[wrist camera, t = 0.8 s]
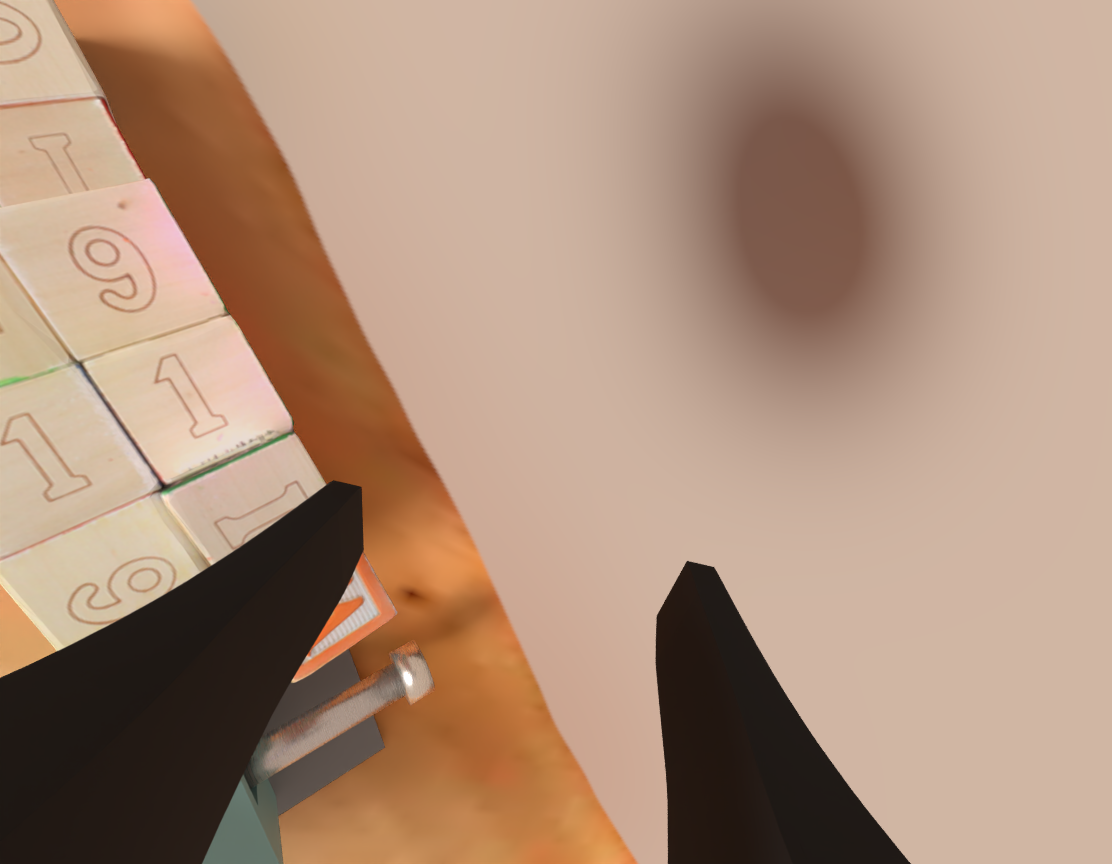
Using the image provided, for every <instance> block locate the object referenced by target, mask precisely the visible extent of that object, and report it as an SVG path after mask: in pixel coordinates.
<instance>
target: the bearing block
mask: <svg viewBox="0 0 1112 864" xmlns="http://www.w3.org/2000/svg"><path fill="white" fill-rule="evenodd" d="M358 682H360V678H359V675H358V672H357V670H356V667H355V664H354V662H353V659H352V656H351V654H350V651H349V649H347V650H346V651H344V652H343V653H341V654H340V655H338V656H337V657H335V658H334V659H332V660H331V661H329V662H328V663H326V664H325V665H324V666H322V667H321V668H319V669H318V670H316V671H315V672H313V673H312V674H310V675H309V676H307V677H305V678H303V679H301V680H299V681H297V682H295V683H290V684H289V686H288V688H287V689H286V691H285V693H284V695H283V696H282V698H281V700H280V702H279V704H278V705H277V707H276V709H275V711H274V713H273V714H272V716H271V718H270V720H269V722H268V725H267V727H266V729H265V731H264V733H263V735H265V734H266V733H268V732H270V731H272V730H274V729H275V728H277V727H279V726H281V725H283V724H284V723H286V722H288V721H290V720H292V719H293V718H295V717H297V716H299V715H300V714H302V713H304V712H306V711H308V710H309V709H311V708H313V707H315V706H317V705H318V704H320V703H322V702H324V701H326V700H327V699H329V698H331V697H333V696H334V695H336V694H338V693H340V692H342V691H343V690H345V689H347V688H349V687H351V686H352V685H354V684H356V683H358ZM263 735H262V736H263ZM383 748H385V746H384V743H383V740H382V737H381V735H380V732H379V729H378V727H377V724H376V721H375V718H374V716H373V715H372V716H371V717H369V718H367V719H366V720H364V721H362V722H361V723H359V724H357V725H356V726H354V727H352V728H351V729H349V730H347V731H346V732H344V733H342V734H341V735H339V736H337V737H336V738H334V739H332V740H331V741H329V742H327V743H326V744H324V745H322V746H321V747H319V748H317V749H316V750H314V751H312V752H311V753H309V754H307V755H306V756H304V757H302V758H301V759H299V760H297V761H296V762H294V763H292V764H291V765H289V766H287V767H286V768H284V769H282V770H281V771H279V772H277V773H276V774H274V775H272V776H271V777H269V778H268V779H266V780H264V781H263V782H261V783H259V784H258V785H256V786H254V787H253V788H251V789H250V788H249V786H248V784H247V781H246V779H245V777H244V775H243V776H242V778H241V780H240V782H239V784H238V787H237V789H236V791H235V793H234V795H233V797H232V799H231V801H230V804H229V806H228V808H227V810H226V812H225V814H224V816H223V819H222V821H221V823H220V825H219V827H218V830H217V832H216V834H215V836H214V838H213V841H212V843H211V845H210V847H209V850H208V852H207V854H206V856H205V859H204V861H203V863H202V864H283V856H282V847H281V837H280V828H279V819H278V816H279V815H281V814H282V813H284V812H285V811H287V810H289V809H290V808H292V807H293V806H295V805H296V804H298V803H299V802H301V801H303V800H304V799H306V798H307V797H309V796H310V795H312V794H313V793H315V792H317V791H318V790H320V789H321V788H323V787H324V786H326V785H327V784H329V783H331V782H332V781H334V780H335V779H337V778H338V777H340V776H341V775H343V774H345V773H346V772H348V771H349V770H351V769H352V768H354V767H355V766H357V765H359V764H360V763H362V762H363V761H365V760H366V759H368V758H369V757H371V756H373V755H374V754H376V753H377V752H379V751H380V750H382V749H383Z"/></svg>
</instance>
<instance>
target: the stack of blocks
mask: <svg viewBox="0 0 1112 864" xmlns="http://www.w3.org/2000/svg"><path fill="white" fill-rule="evenodd" d="M293 425H294V421H293V419H292V416H291V415H290V413H289V411H288V410H287V408H286V406H285V404H284V402H283V400H282V399H281V397H280V396H279V394H278V392H277V391H276V389H275V388H274V386H273V384H272V382H271V381H270V379H269V377H268V375H267V373H266V372H265V370H264V368H263V366H262V365H261V363H260V361H259V360H258V358H257V356H256V354H255V353H254V351H253V349H252V348H251V346H250V344H249V342H248V341H247V339H246V337H245V336H244V334H243V332H242V330H241V329H240V327H239V326H238V324H237V323H236V321H235V320H234V319H233V317H232V316H231V315H230V313H229V312H228V311H227V309H226V307H225V305H224V303H223V300H222V299H221V297H220V295H219V293H218V292H217V290H216V288H215V287H214V285H213V283H212V281H211V280H210V278H209V276H208V275H207V273H206V271H205V270H204V268H203V266H202V264H201V263H200V261H199V259H198V258H197V256H196V254H195V252H194V251H193V249H192V247H191V245H190V244H189V242H188V240H187V238H186V237H185V235H184V233H183V231H182V230H181V228H180V226H179V225H178V223H177V221H176V220H175V218H174V216H173V214H172V213H171V211H170V209H169V208H168V206H167V204H166V203H165V201H164V199H163V197H162V196H161V194H160V192H159V190H158V188H157V186H156V184H155V183H154V182H153V181H152V180H151V179H150V178H148V179H146V177H145V175H144V174H143V172H142V170H141V168H140V166H139V165H138V163H137V161H136V159H135V157H134V156H133V154H132V152H131V150H130V148H129V147H128V145H127V143H126V141H125V139H124V137H123V136H122V134H121V132H120V130H119V128H118V126H117V124H116V121H115V118H114V116H113V113H112V111H111V108H110V106H109V103H108V100H107V98H106V95H105V93H104V91H103V89H102V88H101V86H100V84H99V82H98V80H97V78H96V76H95V75H94V73H93V71H92V69H91V67H90V65H89V63H88V62H87V60H86V58H85V56H84V54H83V52H82V51H81V49H80V47H79V45H78V43H77V41H76V39H75V38H74V36H73V34H72V32H71V30H70V29H69V27H68V25H67V23H66V21H65V20H64V18H63V16H62V14H61V13H60V11H59V9H58V7H57V5H56V4H55V2H54V0H0V584H1V585H2V587H3V588H4V589H5V590H6V591H7V593H8V594H9V595H10V596H11V598H12V599H13V600H14V601H15V602H16V603H17V605H18V606H19V607H20V608H21V609H22V610H23V612H24V613H25V614H26V615H27V616H28V617H29V619H30V620H31V621H32V622H33V623H34V624H35V626H36V627H37V628H38V629H39V630H40V631H41V633H42V634H43V635H44V636H45V637H46V639H47V640H48V641H49V642H50V643H51V644H52V646H53V647H54V648H55V649H56V650H57V651H59V650H61V649H63V648H65V647H67V646H69V645H71V644H73V643H75V642H77V641H79V640H81V639H83V638H84V637H86V636H88V635H90V634H92V633H94V632H96V631H98V630H100V629H102V628H104V627H106V626H108V625H110V624H112V623H114V622H116V621H117V620H119V619H121V618H123V617H125V616H127V615H128V614H130V613H132V612H134V611H136V610H137V609H139V608H141V607H143V606H145V605H146V604H148V603H150V602H152V601H154V600H155V599H157V598H159V597H161V596H162V595H164V594H166V593H167V592H169V591H171V590H172V589H174V588H176V587H177V586H179V585H181V584H182V583H184V582H186V581H187V580H189V579H191V578H192V577H194V576H195V575H197V574H198V573H200V572H202V571H203V570H205V569H206V568H208V567H209V566H211V565H213V564H214V563H216V562H217V561H219V560H221V559H222V558H224V557H225V556H227V555H228V554H230V553H231V552H233V551H234V550H236V549H237V548H239V547H240V546H242V545H243V544H245V543H246V542H248V541H249V540H250V539H252V538H253V537H255V536H256V535H258V534H259V533H261V532H262V531H263V530H265V529H266V528H268V527H269V526H271V525H272V524H274V523H275V522H276V521H278V520H279V519H280V518H282V517H283V516H285V515H286V514H287V513H289V512H290V511H292V510H293V509H294V508H296V507H297V506H298V505H300V504H301V503H302V502H304V501H305V500H307V499H308V498H309V497H311V496H312V495H313V494H315V493H316V492H317V491H319V490H320V489H321V488H323V487H324V486H326V485H327V484H326V483H325V481H324V479H323V477H322V476H321V474H320V472H319V471H318V469H317V467H316V466H315V464H314V462H313V461H312V459H311V457H310V456H309V454H308V452H307V450H306V449H305V447H304V445H303V444H302V442H301V440H300V439H299V437H298V436H297V435H296V433H295V432H294V430H293ZM396 614H397V611H396V609H395V607H394V605H393V603H392V602H391V600H390V598H389V596H388V595H387V593H386V591H385V589H384V588H383V586H382V584H381V582H380V581H379V579H378V577H377V575H376V574H375V572H374V570H373V568H372V566H371V565H370V563H369V561H368V559H367V557H366V556H365V554H364V552H363V553H362V555H361V557H360V560H359V562H358V564H357V566H356V569H355V571H354V573H353V575H352V577H351V580H350V582H349V584H348V586H347V588H346V590H345V592H344V594H343V596H342V598H341V600H340V601H339V603H338V605H337V606H336V608H335V610H334V611H333V613H332V615H331V616H330V618H329V620H328V621H327V623H326V625H325V626H324V628H323V630H322V631H321V633H320V635H319V636H318V638H317V640H316V641H315V643H314V645H313V646H312V648H311V650H310V651H309V653H308V655H307V656H306V658H305V660H304V661H303V663H302V665H301V666H300V668H299V670H298V671H297V673H296V675H295V676H294V678H293V679H292V681H291V683H295V682H297V681H299V680H301V679H303V678H305V677H307V676H309V675H310V674H312V673H313V672H315V671H316V670H318V669H319V668H321V667H322V666H324V665H325V664H326V663H328V662H329V661H331V660H332V659H334V658H335V657H337V656H338V655H340V654H341V653H343V652H344V651H346V650H347V649H349V648H350V647H352V646H353V645H355V644H356V643H357V642H359V641H360V640H362V639H363V638H365V637H366V636H368V635H369V634H371V633H372V632H373V631H375V630H376V629H378V628H379V627H381V626H382V625H384V624H385V623H387V622H388V621H389V620H390V619H392V618H393V617H394V616H395V615H396Z"/></svg>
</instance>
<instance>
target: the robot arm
mask: <svg viewBox="0 0 1112 864" xmlns="http://www.w3.org/2000/svg"><path fill="white" fill-rule="evenodd" d="M363 550H364V548H363V517H362V487H360V486H355V485H351V484H347V483H342V482H338V481H332V482H330V483H328V484H327V485H326V486H324V487H323V488H321V489H320V490H319V491H317V492H316V493H315V494H313V495H312V496H311V497H309V498H308V499H307V500H305V501H304V502H302V503H301V504H300V505H298V506H297V507H296V508H294V509H293V510H292V511H290V512H289V513H287V514H286V515H285V516H283V517H282V518H280V519H279V520H278V521H276V522H275V523H274V524H272V525H271V526H269V527H268V528H266V529H265V530H263V531H262V532H261V533H259V534H258V535H256V536H255V537H253V538H252V539H250V540H249V541H248V542H246V543H245V544H243V545H242V546H240V547H239V548H237V549H236V550H234V551H233V552H231V553H230V554H228V555H227V556H225V557H224V558H222V559H221V560H219V561H217V562H216V563H214V564H213V565H211V566H209V567H208V568H206V569H205V570H203V571H202V572H200V573H198V574H197V575H195V576H194V577H192V578H191V579H189V580H187V581H186V582H184V583H182V584H181V585H179V586H177V587H176V588H174V589H172V590H171V591H169V592H167V593H166V594H164V595H162V596H161V597H159V598H157V599H155V600H154V601H152V602H150V603H148V604H146V605H145V606H143V607H141V608H139V609H137V610H136V611H134V612H132V613H130V614H128V615H127V616H125V617H123V618H121V619H119V620H117V621H116V622H114V623H112V624H110V625H108V626H106V627H104V628H102V629H100V630H98V631H96V632H94V633H92V634H90V635H88V636H86V637H84V638H83V639H81V640H79V641H77V642H75V643H73V644H71V645H69V646H67V647H65V648H63V649H61V650H59V651H57V652H55V653H53V654H51V655H49V656H46V657H44V658H42V659H40V660H38V661H36V662H34V663H32V664H30V665H28V666H25V667H23V668H21V669H19V670H17V671H14V672H12V673H10V674H8V675H5V676H3V677H1V678H0V864H202V863H203V861H204V859H205V856H206V854H207V852H208V850H209V847H210V845H211V843H212V841H213V838H214V836H215V834H216V832H217V830H218V827H219V825H220V823H221V821H222V819H223V816H224V814H225V812H226V810H227V808H228V806H229V804H230V801H231V799H232V797H233V795H234V793H235V791H236V789H237V787H238V784H239V782H240V780H241V778H242V776H243V774H244V772H245V770H246V767H247V765H248V763H249V761H250V759H251V757H252V755H253V753H254V751H255V749H256V747H257V745H258V743H259V741H260V739H261V737H262V735H263V733H264V731H265V729H266V727H267V725H268V722H269V720H270V718H271V716H272V714H273V713H274V711H275V709H276V707H277V705H278V704H279V702H280V700H281V698H282V696H283V695H284V693H285V691H286V689H287V688H288V686H289V684H290V683H291V681H292V679H293V678H294V676H295V675H296V673H297V671H298V670H299V668H300V666H301V665H302V663H303V661H304V660H305V658H306V656H307V655H308V653H309V651H310V650H311V648H312V646H313V645H314V643H315V641H316V640H317V638H318V636H319V635H320V633H321V631H322V630H323V628H324V626H325V625H326V623H327V621H328V620H329V618H330V616H331V615H332V613H333V611H334V610H335V608H336V606H337V605H338V603H339V601H340V600H341V598H342V596H343V594H344V592H345V590H346V588H347V586H348V584H349V582H350V580H351V577H352V575H353V573H354V571H355V569H356V566H357V564H358V562H359V560H360V557H361V555H362V553H363ZM656 625H657V626H656V673H657V684H658V695H659V706H660V715H661V726H662V737H663V747H664V758H665V768H666V782H667V799H668V864H911V863H910V862H909V861H908V860H907V859H906V858H905V856H904V855H903V854H902V853H901V851H900V850H899V849H898V848H897V846H896V845H895V844H894V843H893V842H892V840H891V839H890V838H889V836H888V835H887V834H886V833H885V831H884V830H883V829H882V828H881V827H880V825H879V824H878V823H877V822H876V820H875V819H874V818H873V817H872V815H871V814H870V813H869V812H868V810H867V809H866V808H865V807H864V805H863V804H862V803H861V801H860V800H859V799H858V797H857V796H856V795H855V794H854V792H853V791H852V790H851V788H850V787H849V786H848V784H847V783H846V782H845V780H844V779H843V777H842V776H841V775H840V773H839V772H838V771H837V769H836V768H835V767H834V765H833V764H832V762H831V761H830V759H829V758H828V757H827V755H826V754H825V752H824V751H823V750H822V748H821V747H820V746H819V744H818V743H817V741H816V740H815V738H814V737H813V736H812V734H811V732H810V731H809V729H808V728H807V726H806V725H805V723H804V722H803V720H802V719H801V717H800V716H799V714H798V713H797V711H796V709H795V708H794V706H793V705H792V703H791V702H790V700H789V699H788V697H787V695H786V694H785V692H784V690H783V689H782V688H781V686H780V684H779V682H778V681H777V679H776V677H775V676H774V674H773V672H772V671H771V669H770V667H769V666H768V664H767V662H766V660H765V659H764V657H763V655H762V653H761V652H760V650H759V648H758V647H757V645H756V643H755V641H754V640H753V638H752V636H751V634H750V632H749V631H748V629H747V627H746V625H745V623H744V621H743V620H742V618H741V616H740V614H739V612H738V610H737V609H736V607H735V605H734V603H733V601H732V599H731V597H730V595H729V594H728V592H727V590H726V588H725V586H724V584H723V582H722V581H721V579H720V577H719V575H718V573H717V571H716V570H715V568H714V567H711V566H707V565H702V564H698V563H693V562H689V561H687V562H686V564H685V566H684V567H683V569H682V571H681V573H680V575H679V576H678V578H677V580H676V582H675V584H674V586H673V587H672V589H671V591H670V593H669V595H668V596H667V598H666V600H665V602H664V604H663V606H662V607H661V609H660V611H659V613H658V615H657V624H656Z"/></svg>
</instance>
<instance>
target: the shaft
mask: <svg viewBox="0 0 1112 864" xmlns="http://www.w3.org/2000/svg"><path fill="white" fill-rule="evenodd" d="M389 657H390V660H391V663H392V664H390V665H388V666H386V667H385V668H383V669H381V670H379V671H377V672H376V673H374V674H372V675H370V676H368V677H367V678H365V679H363V680H361V681H360V682H358V683H356V684H354V685H352V686H351V687H349V688H347V689H345V690H343V691H342V692H340V693H338V694H336V695H334V696H333V697H331V698H329V699H327V700H326V701H324V702H322V703H320V704H318V705H317V706H315V707H313V708H311V709H309V710H308V711H306V712H304V713H302V714H300V715H299V716H297V717H295V718H293V719H292V720H290V721H288V722H286V723H284V724H283V725H281V726H279V727H277V728H275V729H274V730H272V731H270V732H268V733H266V734H265V735H263V736H262V737H261V739H260V741H259V743H258V745H257V747H256V749H255V751H254V753H253V755H252V757H251V759H250V761H249V763H248V765H247V767H246V770H245V772H244V774H243V775H244V777H245V779H246V781H247V784H248V786H249V788H250V789H251V788H253V787H254V786H256V785H258V784H259V783H261V782H263V781H264V780H266V779H268V778H269V777H271V776H272V775H274V774H276V773H277V772H279V771H281V770H282V769H284V768H286V767H287V766H289V765H291V764H292V763H294V762H296V761H297V760H299V759H301V758H302V757H304V756H306V755H307V754H309V753H311V752H312V751H314V750H316V749H317V748H319V747H321V746H322V745H324V744H326V743H327V742H329V741H331V740H332V739H334V738H336V737H337V736H339V735H341V734H342V733H344V732H346V731H347V730H349V729H351V728H352V727H354V726H356V725H357V724H359V723H361V722H362V721H364V720H366V719H367V718H369V717H371V716H372V715H374V714H376V713H377V712H379V711H381V710H382V709H384V708H386V707H387V706H389V705H391V704H392V703H394V702H396V701H397V700H399V699H400V698H402V697H404V696H405V697H406V699H407V701H408V703H409V704H410V705H412V704H414V703H415V702H417V701H418V700H420V699H422V698H423V697H425V696H427V695H428V694H430V693H431V692H433V691H435V686H434V682H433V679H432V676H431V673H430V670H429V668H428V665H427V663H426V661H425V659H424V656H423V654H422V652H421V650H420V649H419V647H418V645H417V644H416V642H415V641H414V640H412V641H410V642H408V643H406V644H404V645H403V646H401V647H399V648H397V649H395V650H393V651H392V652H390V653H389Z"/></svg>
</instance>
